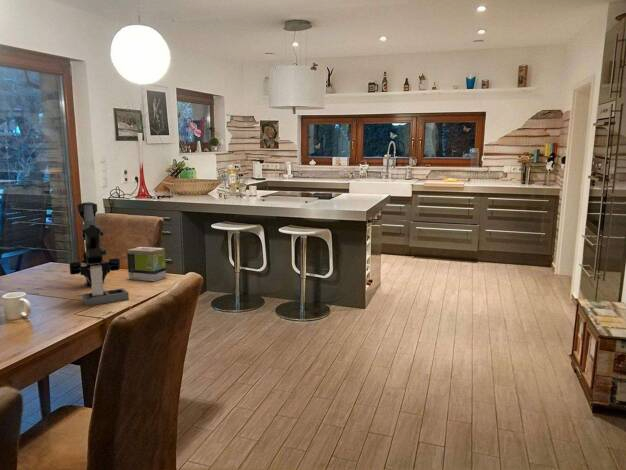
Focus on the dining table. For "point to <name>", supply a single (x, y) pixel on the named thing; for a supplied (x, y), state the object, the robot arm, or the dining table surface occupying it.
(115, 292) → the grey compartment tray
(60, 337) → the dining table surface
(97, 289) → the grey tall block
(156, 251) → the tea box
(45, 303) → the dining table surface
